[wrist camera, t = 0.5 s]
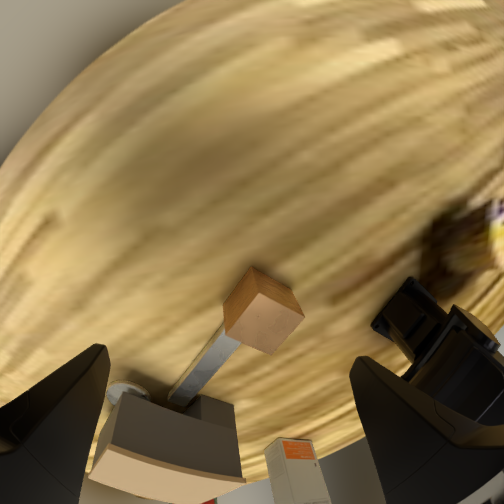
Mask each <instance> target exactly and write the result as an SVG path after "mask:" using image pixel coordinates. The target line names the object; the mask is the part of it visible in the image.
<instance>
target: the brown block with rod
mask: <svg viewBox="0 0 504 504" xmlns="http://www.w3.org/2000/svg"><path fill="white" fill-rule="evenodd" d="M223 312H224V323H223V324H222V325H221V327H220V328H219V329H218V331H217V332H216V333H215V335H214V336H213V337H212V338H211V340H210V341H209V342H208V344H207V345H206V346H205V347H204V349H203V350H202V351H201V353H200V354H199V355H198V356H197V358H196V359H195V360H194V362H193V363H192V364H191V365H190V367H189V368H188V369H187V371H186V372H185V373H184V374H183V376H182V377H181V378H180V379H179V381H178V382H177V383H176V384H175V386H174V387H173V388H172V390H171V391H170V392H169V393H168V399H167V401H169V402H172V403H174V404H177V405H180V406H183V407H185V406H186V405H187V404H188V403H189V402H190V401H191V399H192V398H193V397H194V396H195V395H196V394H197V393H198V392H199V391H200V390H201V388H202V387H203V386H204V385H205V384H206V383H207V382H208V381H209V380H210V378H211V377H212V376H213V375H214V374H215V373H216V372H217V370H218V369H219V368H220V367H221V366H222V365H223V364H224V362H225V361H226V360H227V359H228V358H229V357H230V356H231V354H232V353H233V352H234V351H235V350H236V349H237V347H238V346H239V345H240V344H241V343H243V344H246V345H248V346H250V347H253V348H255V349H257V350H260V351H262V352H265V353H267V354H269V355H272V354H273V353H274V352H275V351H276V349H277V348H278V347H279V346H280V345H281V344H282V343H283V342H284V341H285V340H286V338H287V337H288V336H289V335H290V334H291V333H292V332H293V331H294V329H295V328H296V327H297V326H298V325H299V324H300V323H301V321H302V320H303V319H304V318H305V316H304V314H303V312H302V310H301V308H300V306H299V304H298V302H297V300H296V298H295V296H294V294H293V292H292V290H291V289H289V288H287V287H286V286H284V285H282V284H281V283H279V282H277V281H275V280H274V279H272V278H270V277H268V276H267V275H265V274H263V273H261V272H260V271H258V270H256V269H255V268H253V267H250V268H249V270H248V271H247V273H246V274H245V275H244V277H243V278H242V279H241V281H240V282H239V284H238V285H237V286H236V288H235V289H234V290H233V292H232V293H231V294H230V296H229V297H228V299H227V300H226V301H225V303H224V304H223Z"/></svg>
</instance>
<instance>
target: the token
mask: <svg viewBox="0 0 504 504" xmlns="http://www.w3.org/2000/svg"><path fill="white" fill-rule="evenodd" d="M123 391H125V392H127V393H130V394H132V395H134V396H137V397H139V398H141V399H144V400H146V401H148V402H151V396H150V394H149V392H148V391H147V390H146V389H145V388H143V387H142V386H140V385H138V384H136V383H134V382H131V381H126V380H116V381H113V382H112V383H110V385H109V387H108V390H107V397H108V399H109V401H110V402H111V403H112V404H113V405H114V406H115V405H116V403H117V401H118V399H119V398H120V396H121V394H122V392H123Z"/></svg>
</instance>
